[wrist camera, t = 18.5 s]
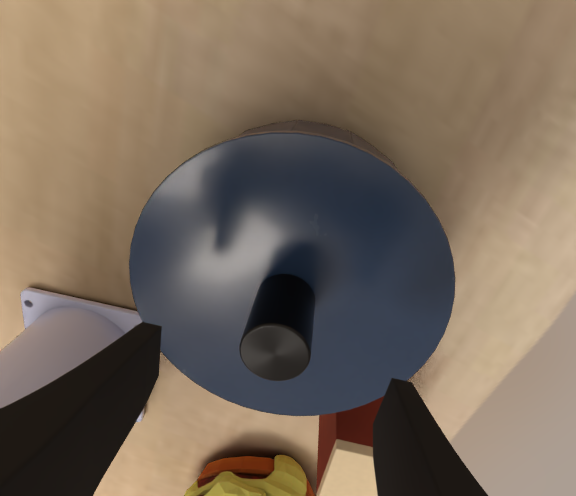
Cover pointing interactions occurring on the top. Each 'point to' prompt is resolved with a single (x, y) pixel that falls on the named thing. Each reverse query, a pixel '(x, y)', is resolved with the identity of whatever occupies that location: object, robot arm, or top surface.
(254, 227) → the pot lid
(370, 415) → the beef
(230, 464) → the cheeseburger
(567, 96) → the top surface
